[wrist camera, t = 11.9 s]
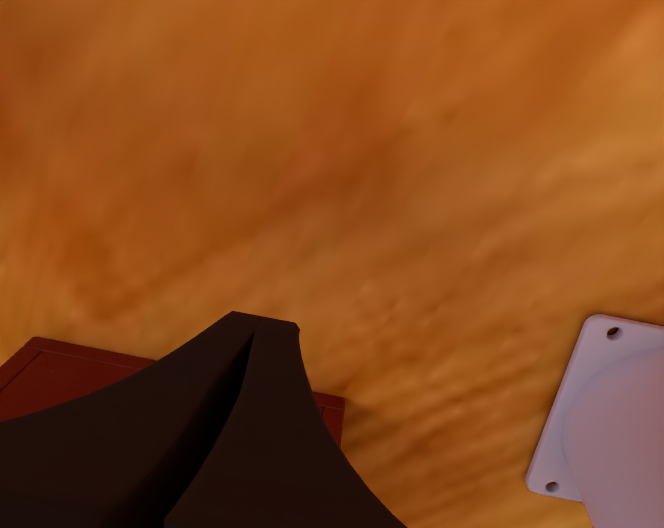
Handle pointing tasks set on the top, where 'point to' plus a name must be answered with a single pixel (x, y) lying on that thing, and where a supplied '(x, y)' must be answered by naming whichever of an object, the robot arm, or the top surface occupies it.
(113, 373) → the reddish-brown open box
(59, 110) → the top surface
